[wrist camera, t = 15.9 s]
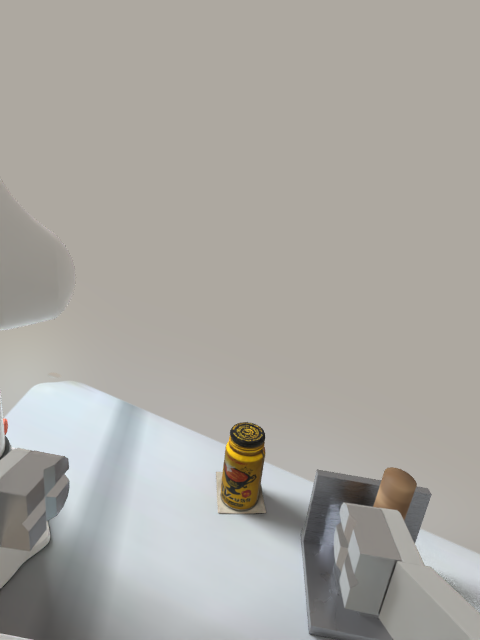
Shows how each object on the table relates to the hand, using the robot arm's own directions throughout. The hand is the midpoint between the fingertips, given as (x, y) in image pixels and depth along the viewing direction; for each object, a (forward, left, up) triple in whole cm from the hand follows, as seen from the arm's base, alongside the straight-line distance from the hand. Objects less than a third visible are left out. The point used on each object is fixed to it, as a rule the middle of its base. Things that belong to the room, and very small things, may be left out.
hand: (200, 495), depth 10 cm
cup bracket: (-12, +27, -33) cm, 45 cm away
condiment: (-31, +19, -34) cm, 49 cm away
